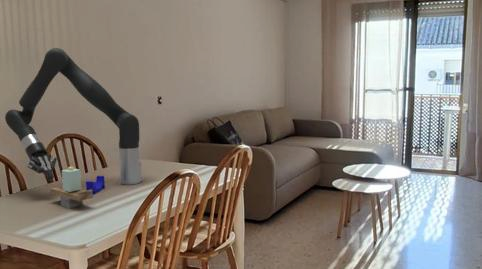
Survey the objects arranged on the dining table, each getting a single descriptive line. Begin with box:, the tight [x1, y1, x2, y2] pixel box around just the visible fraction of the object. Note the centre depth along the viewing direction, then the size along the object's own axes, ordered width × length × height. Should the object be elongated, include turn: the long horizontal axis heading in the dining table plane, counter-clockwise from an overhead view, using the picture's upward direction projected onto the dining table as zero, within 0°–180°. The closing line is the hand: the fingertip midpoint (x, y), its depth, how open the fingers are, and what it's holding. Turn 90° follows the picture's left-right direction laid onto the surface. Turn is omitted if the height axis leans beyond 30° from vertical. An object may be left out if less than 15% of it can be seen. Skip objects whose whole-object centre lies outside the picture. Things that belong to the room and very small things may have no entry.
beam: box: [49, 185, 94, 209], centre depth 185 cm, size 6×20×7 cm, turn 53°
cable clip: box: [85, 175, 105, 196], centre depth 206 cm, size 12×4×6 cm, turn 173°
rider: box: [61, 166, 82, 192], centre depth 183 cm, size 5×5×9 cm
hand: (51, 178), depth 192 cm, fingers closed
